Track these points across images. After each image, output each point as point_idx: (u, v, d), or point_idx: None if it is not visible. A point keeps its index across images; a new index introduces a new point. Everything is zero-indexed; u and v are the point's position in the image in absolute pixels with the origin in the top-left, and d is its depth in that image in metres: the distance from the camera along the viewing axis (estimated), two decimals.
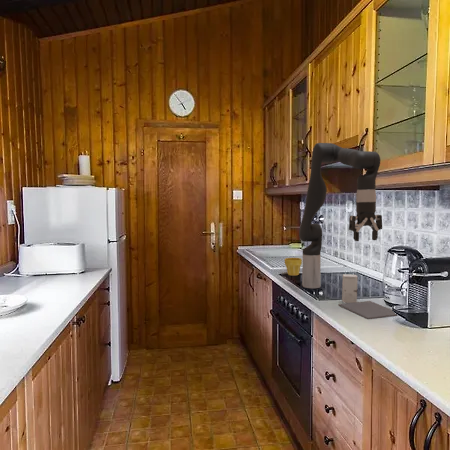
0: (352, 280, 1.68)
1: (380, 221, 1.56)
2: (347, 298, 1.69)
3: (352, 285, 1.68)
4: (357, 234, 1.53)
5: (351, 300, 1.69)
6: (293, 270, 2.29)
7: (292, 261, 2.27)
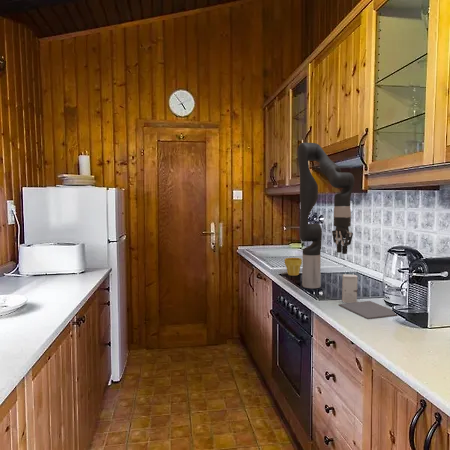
0: (352, 280, 1.68)
1: None
2: (347, 298, 1.69)
3: (352, 285, 1.68)
4: (346, 247, 1.74)
5: (351, 300, 1.69)
6: (293, 270, 2.29)
7: (292, 261, 2.27)
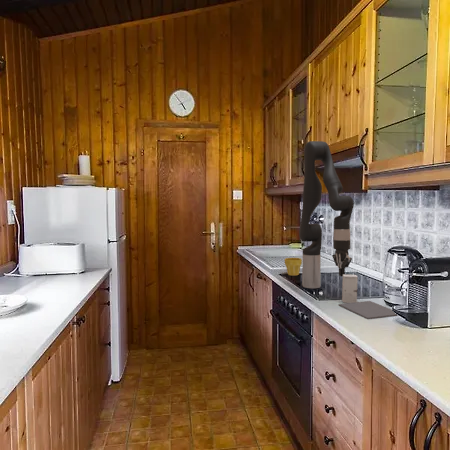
0: (352, 280, 1.68)
1: None
2: (347, 298, 1.69)
3: (352, 285, 1.68)
4: None
5: (351, 300, 1.69)
6: (293, 270, 2.29)
7: (292, 261, 2.27)
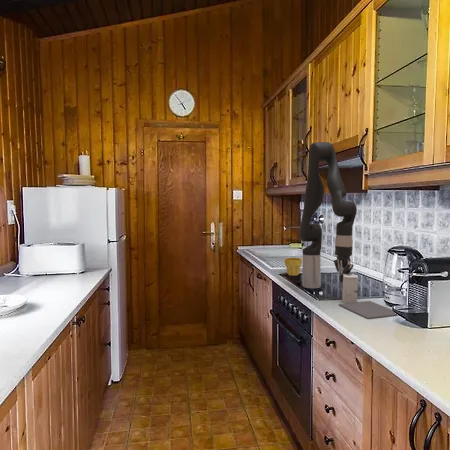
0: (353, 281, 1.67)
1: None
2: (347, 298, 1.69)
3: (352, 285, 1.68)
4: None
5: (351, 301, 1.69)
6: (293, 270, 2.29)
7: (292, 261, 2.27)
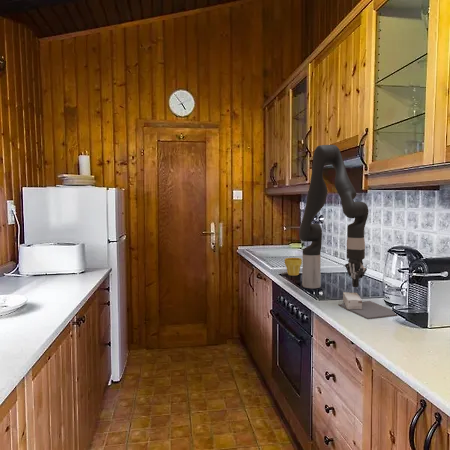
0: None
1: None
2: None
3: None
4: None
5: None
6: (293, 270, 2.29)
7: (292, 261, 2.27)
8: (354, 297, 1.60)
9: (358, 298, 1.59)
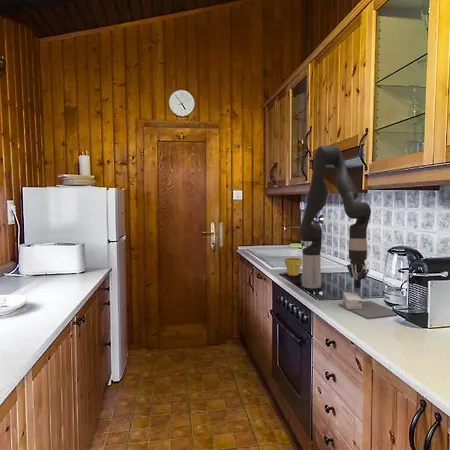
0: None
1: None
2: None
3: None
4: None
5: None
6: (292, 270, 2.29)
7: (292, 261, 2.27)
8: (354, 297, 1.60)
9: (358, 298, 1.59)
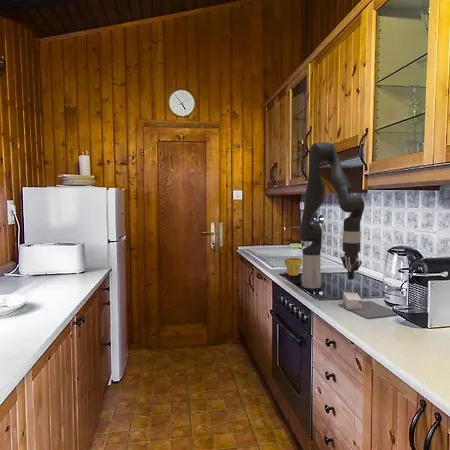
0: None
1: None
2: None
3: None
4: (353, 273, 1.70)
5: None
6: (293, 270, 2.29)
7: (292, 261, 2.27)
8: (354, 297, 1.60)
9: (358, 298, 1.59)
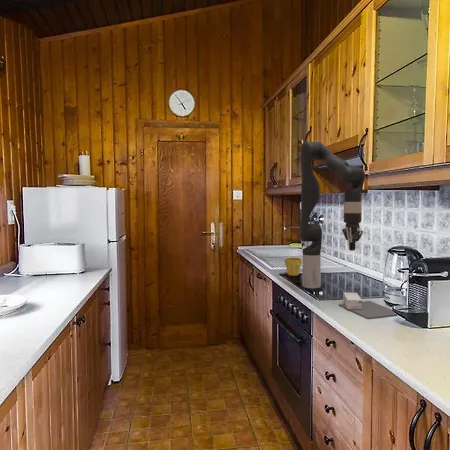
0: None
1: None
2: None
3: None
4: (354, 244, 1.71)
5: None
6: (292, 270, 2.29)
7: (292, 261, 2.27)
8: (354, 297, 1.60)
9: (358, 298, 1.59)
